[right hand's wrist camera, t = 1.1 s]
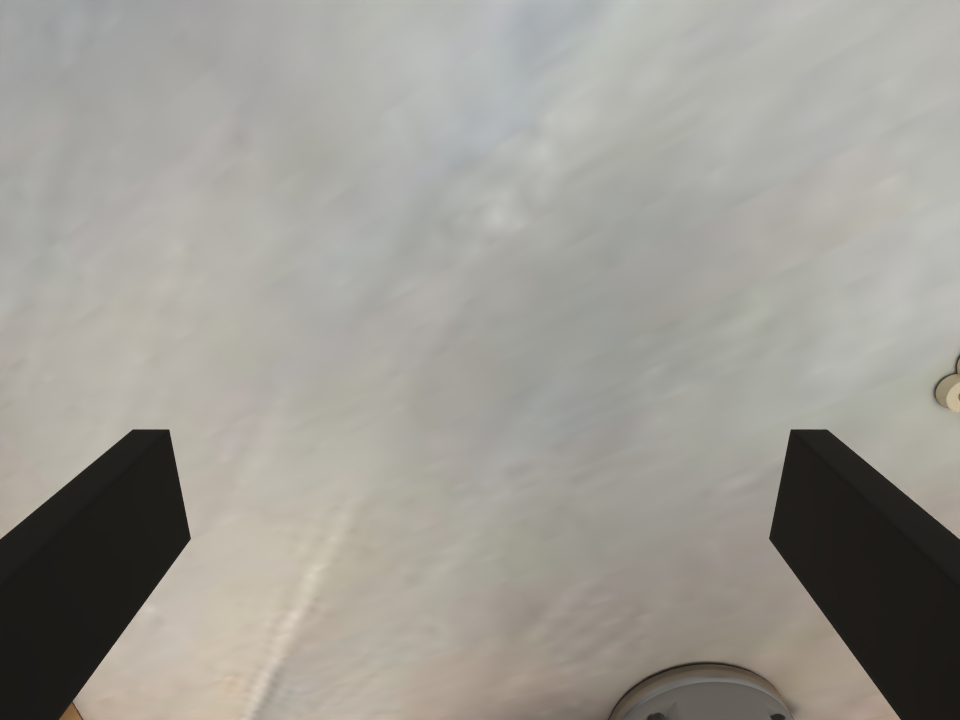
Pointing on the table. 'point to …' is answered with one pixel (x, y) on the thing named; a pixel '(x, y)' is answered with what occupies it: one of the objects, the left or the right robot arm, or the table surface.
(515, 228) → the table surface
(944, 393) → the decorative sign
